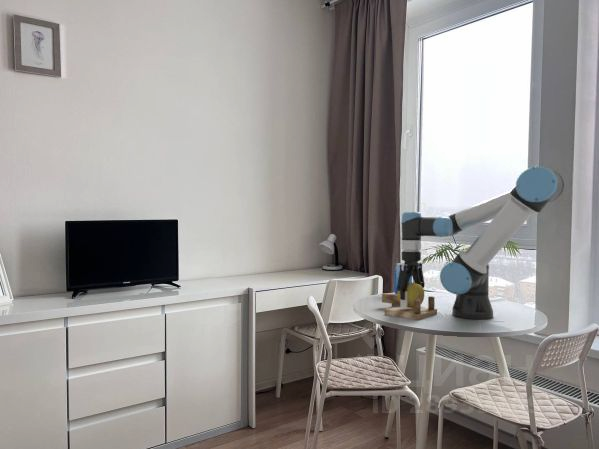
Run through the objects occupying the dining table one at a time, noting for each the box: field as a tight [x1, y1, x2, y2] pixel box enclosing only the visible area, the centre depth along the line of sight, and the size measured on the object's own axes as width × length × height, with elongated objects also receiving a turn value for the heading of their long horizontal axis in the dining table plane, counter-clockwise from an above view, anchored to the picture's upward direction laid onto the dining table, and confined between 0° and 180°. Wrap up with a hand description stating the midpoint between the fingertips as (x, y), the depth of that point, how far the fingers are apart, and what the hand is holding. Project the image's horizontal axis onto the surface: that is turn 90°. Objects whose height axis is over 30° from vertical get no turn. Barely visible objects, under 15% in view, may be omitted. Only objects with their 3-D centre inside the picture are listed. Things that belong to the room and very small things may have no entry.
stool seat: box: [384, 295, 438, 321], centre depth 185 cm, size 15×15×7 cm
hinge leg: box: [381, 292, 400, 305], centre depth 196 cm, size 11×2×5 cm, turn 50°
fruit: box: [397, 282, 425, 308], centre depth 185 cm, size 10×11×10 cm
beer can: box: [394, 262, 413, 295], centre depth 229 cm, size 8×8×16 cm
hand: (411, 305), depth 185 cm, fingers closed on fruit, 11 cm apart
